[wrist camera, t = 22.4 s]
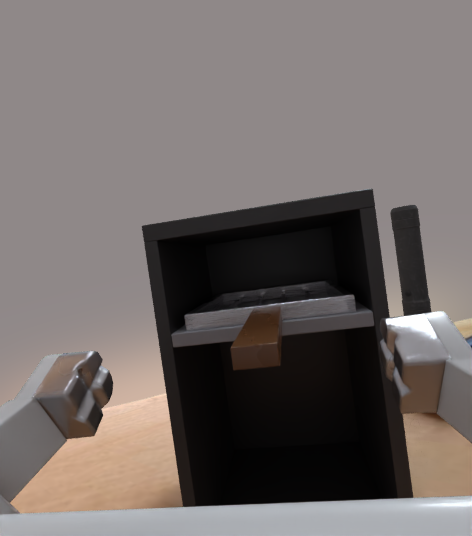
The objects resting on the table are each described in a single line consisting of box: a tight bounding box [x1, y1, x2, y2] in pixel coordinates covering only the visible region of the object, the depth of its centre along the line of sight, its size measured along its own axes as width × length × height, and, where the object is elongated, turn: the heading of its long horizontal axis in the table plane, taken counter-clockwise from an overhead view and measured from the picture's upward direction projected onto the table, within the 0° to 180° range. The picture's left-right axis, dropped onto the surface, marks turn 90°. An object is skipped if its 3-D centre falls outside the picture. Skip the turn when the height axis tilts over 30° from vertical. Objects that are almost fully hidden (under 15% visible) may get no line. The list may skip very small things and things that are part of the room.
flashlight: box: [391, 205, 431, 316], centre depth 66 cm, size 7×28×7 cm
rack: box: [184, 280, 356, 370], centre depth 26 cm, size 23×12×1 cm, turn 172°
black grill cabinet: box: [142, 189, 413, 507], centre depth 32 cm, size 16×17×26 cm
